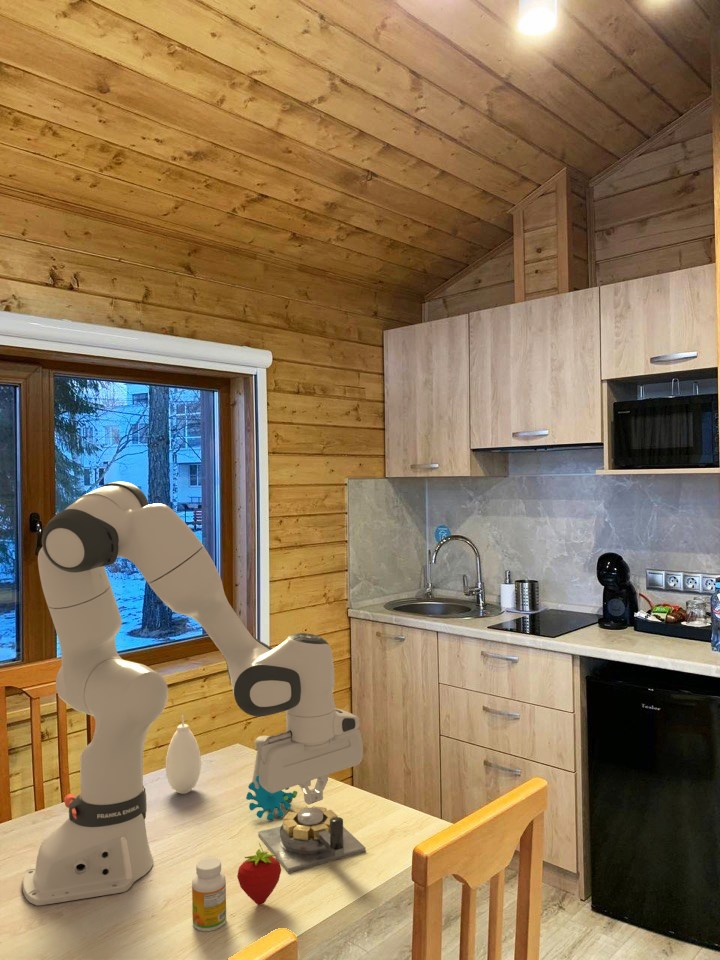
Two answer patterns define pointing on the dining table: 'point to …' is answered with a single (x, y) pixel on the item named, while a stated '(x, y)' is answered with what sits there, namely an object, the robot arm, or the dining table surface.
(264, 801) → the teal virus model
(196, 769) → the white air blower bulb
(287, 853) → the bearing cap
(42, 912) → the dining table surface
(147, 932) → the dining table surface
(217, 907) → the supplement bottle
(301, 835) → the ring nut
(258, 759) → the salt shaker
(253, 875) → the strawberry
